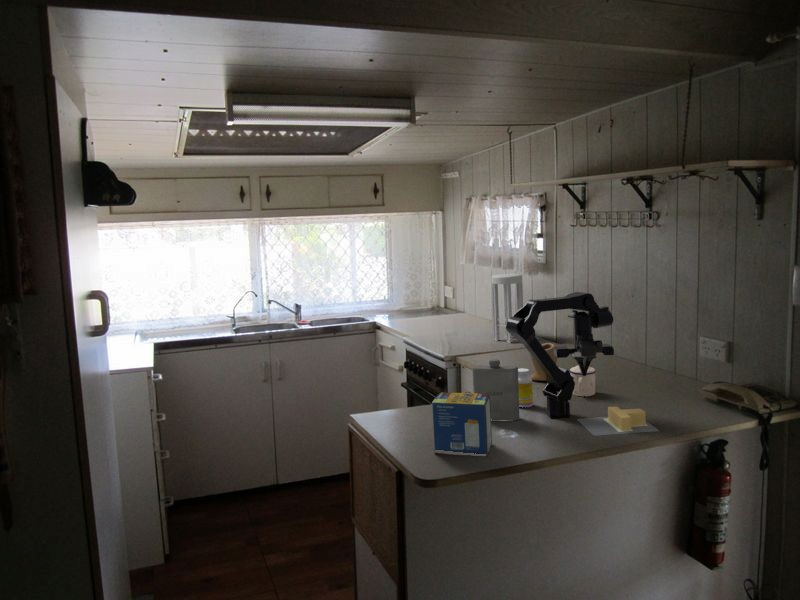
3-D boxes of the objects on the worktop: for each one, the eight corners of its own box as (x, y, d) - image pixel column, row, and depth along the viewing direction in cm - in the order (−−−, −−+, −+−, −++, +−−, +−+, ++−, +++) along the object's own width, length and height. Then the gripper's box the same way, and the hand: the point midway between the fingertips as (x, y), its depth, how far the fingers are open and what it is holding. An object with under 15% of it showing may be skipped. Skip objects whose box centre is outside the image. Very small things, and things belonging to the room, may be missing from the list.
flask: (472, 420, 209) (470, 361, 207) (475, 415, 215) (473, 357, 212) (518, 422, 205) (516, 362, 202) (520, 416, 210) (518, 358, 208)
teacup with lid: (572, 389, 239) (571, 359, 237) (597, 390, 235) (596, 360, 234) (567, 398, 228) (566, 366, 226) (593, 400, 224) (593, 367, 223)
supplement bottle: (536, 406, 220) (535, 370, 218) (519, 409, 218) (518, 373, 217) (527, 401, 226) (526, 366, 225) (510, 404, 225) (509, 369, 223)
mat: (593, 436, 188) (593, 435, 188) (576, 419, 204) (576, 418, 204) (659, 431, 189) (659, 430, 189) (636, 415, 205) (636, 414, 205)
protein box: (441, 441, 192) (439, 391, 190) (492, 444, 187) (490, 393, 185) (433, 454, 182) (431, 402, 180) (487, 457, 177) (484, 403, 175)
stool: (507, 336, 347) (505, 273, 342) (529, 339, 335) (527, 274, 330) (488, 341, 338) (485, 275, 333) (510, 344, 325) (507, 277, 321)
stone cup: (526, 383, 251) (525, 346, 249) (533, 375, 261) (532, 340, 259) (565, 385, 244) (564, 347, 242) (571, 378, 255) (570, 341, 253)
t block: (621, 430, 191) (621, 417, 191) (607, 419, 202) (607, 407, 202) (650, 428, 192) (650, 415, 191) (635, 417, 202) (635, 405, 202)
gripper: (559, 336, 202) (561, 383, 204) (619, 332, 201) (619, 380, 203) (552, 329, 213) (554, 375, 215) (608, 326, 212) (609, 372, 214)
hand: (584, 375), depth 211 cm, fingers closed
